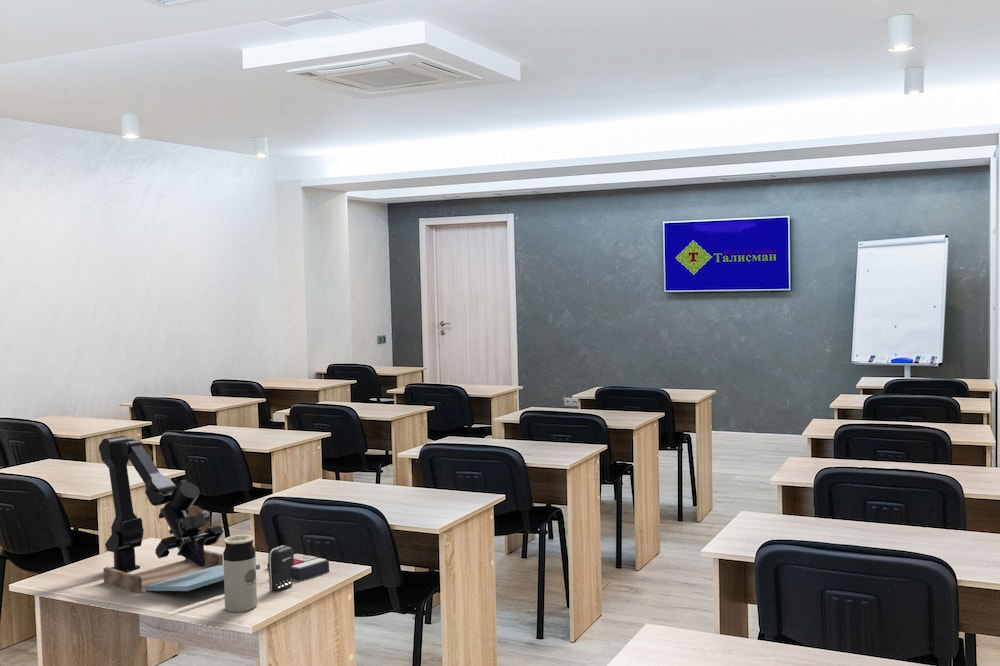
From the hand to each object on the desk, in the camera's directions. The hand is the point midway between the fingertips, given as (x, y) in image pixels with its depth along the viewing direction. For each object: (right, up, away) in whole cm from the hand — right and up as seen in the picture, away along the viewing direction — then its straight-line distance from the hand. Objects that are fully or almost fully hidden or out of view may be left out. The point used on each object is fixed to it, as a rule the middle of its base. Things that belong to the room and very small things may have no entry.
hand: (203, 565), depth 248 cm
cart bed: (-15, -7, +11) cm, 20 cm away
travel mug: (+15, -7, -15) cm, 22 cm away
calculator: (+23, -6, +15) cm, 28 cm away
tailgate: (-8, -6, +6) cm, 12 cm away
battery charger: (+22, -6, 0) cm, 23 cm away
